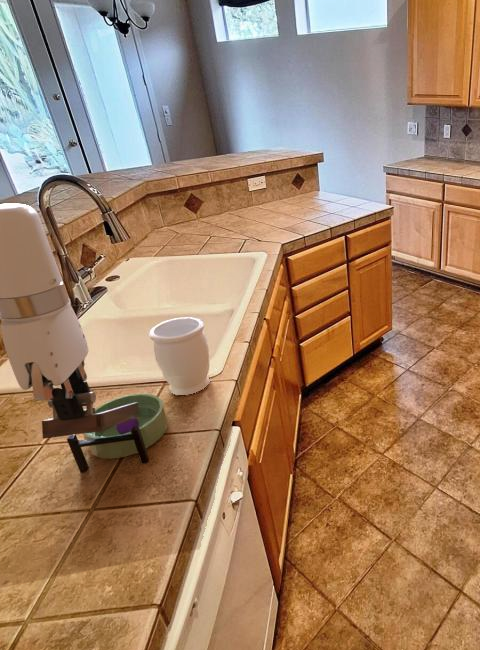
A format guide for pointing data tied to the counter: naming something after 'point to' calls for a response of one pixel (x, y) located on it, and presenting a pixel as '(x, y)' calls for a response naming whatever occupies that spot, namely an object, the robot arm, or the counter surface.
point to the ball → (127, 426)
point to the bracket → (77, 445)
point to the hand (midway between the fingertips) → (77, 410)
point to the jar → (182, 354)
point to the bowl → (149, 425)
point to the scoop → (88, 419)
